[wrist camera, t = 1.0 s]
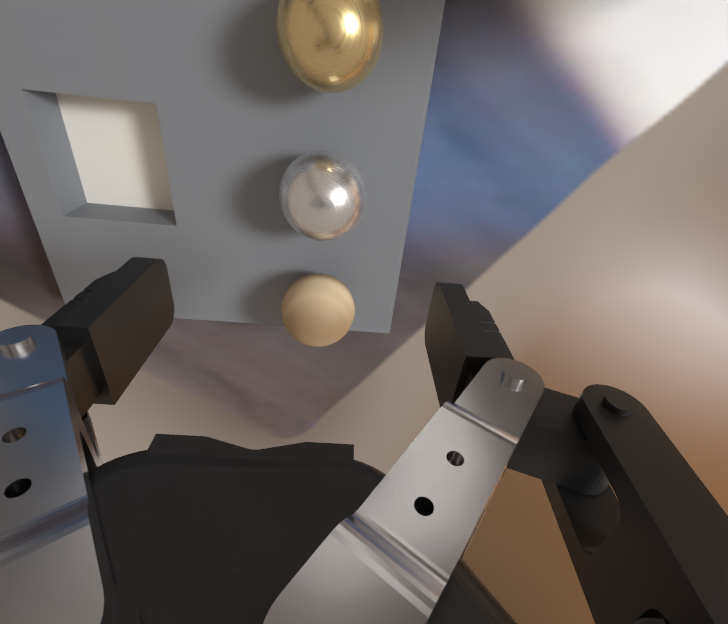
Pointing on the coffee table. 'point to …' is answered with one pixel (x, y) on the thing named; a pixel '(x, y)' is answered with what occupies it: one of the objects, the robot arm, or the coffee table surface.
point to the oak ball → (317, 309)
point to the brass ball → (330, 41)
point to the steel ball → (322, 195)
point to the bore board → (206, 147)
